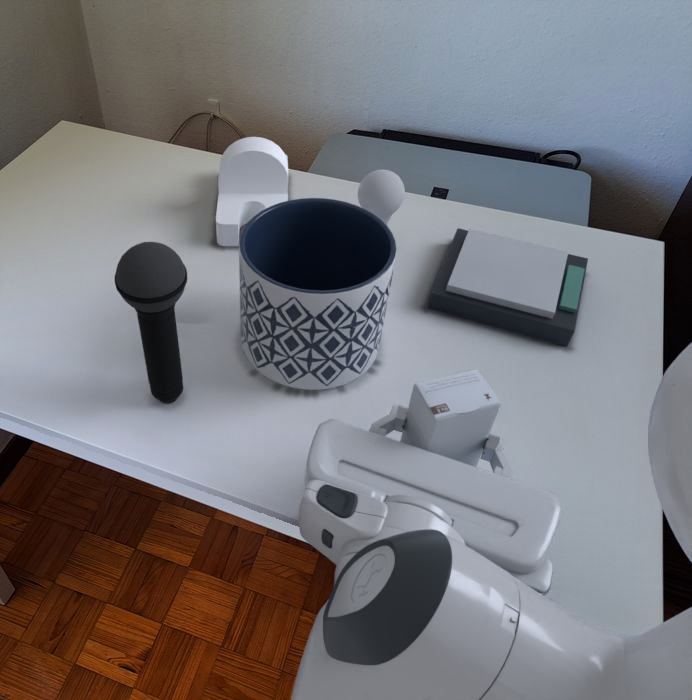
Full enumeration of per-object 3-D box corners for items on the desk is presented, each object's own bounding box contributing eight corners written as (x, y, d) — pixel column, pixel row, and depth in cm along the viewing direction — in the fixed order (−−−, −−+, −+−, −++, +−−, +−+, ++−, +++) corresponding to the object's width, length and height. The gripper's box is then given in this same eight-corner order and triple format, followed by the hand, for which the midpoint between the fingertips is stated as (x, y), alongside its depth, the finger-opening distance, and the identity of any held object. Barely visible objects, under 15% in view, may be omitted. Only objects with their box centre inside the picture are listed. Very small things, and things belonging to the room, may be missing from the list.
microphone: (152, 367, 77) (129, 221, 63) (207, 381, 76) (195, 234, 61) (127, 411, 73) (96, 264, 59) (184, 426, 71) (166, 279, 57)
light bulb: (372, 219, 96) (381, 155, 88) (405, 238, 92) (418, 173, 85) (343, 236, 93) (350, 172, 86) (376, 257, 90) (386, 191, 83)
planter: (387, 393, 74) (409, 293, 63) (240, 393, 74) (237, 294, 64) (369, 295, 85) (385, 195, 74) (241, 296, 85) (239, 198, 75)
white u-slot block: (216, 246, 93) (212, 180, 85) (224, 173, 105) (221, 111, 98) (287, 246, 92) (290, 180, 85) (286, 174, 104) (289, 110, 97)
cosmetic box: (450, 447, 67) (478, 363, 58) (472, 485, 64) (506, 402, 55) (391, 461, 66) (411, 378, 58) (411, 500, 63) (435, 418, 55)
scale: (581, 273, 86) (591, 251, 84) (567, 346, 78) (577, 324, 75) (453, 243, 91) (459, 221, 89) (427, 308, 83) (432, 286, 80)
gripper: (560, 591, 47) (583, 442, 55) (283, 486, 54) (342, 367, 62) (534, 628, 51) (558, 485, 60) (282, 527, 58) (336, 411, 67)
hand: (446, 424), depth 61 cm, fingers closed on cosmetic box, 7 cm apart
